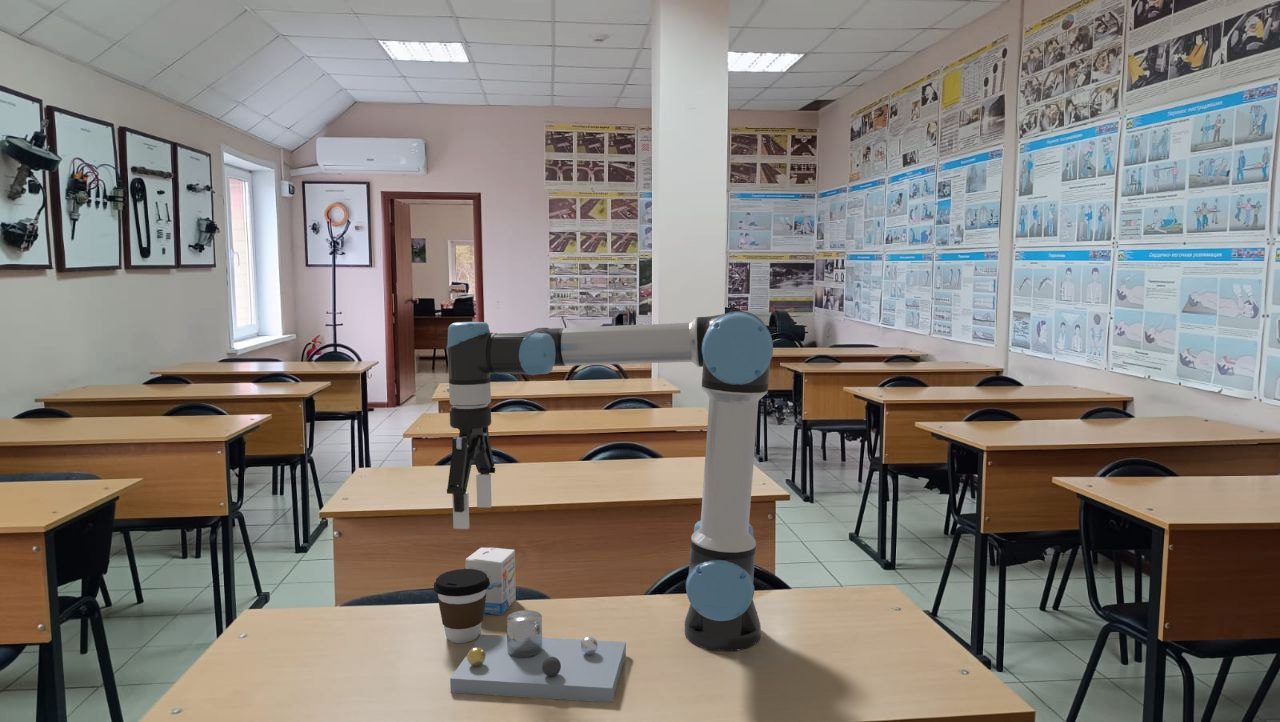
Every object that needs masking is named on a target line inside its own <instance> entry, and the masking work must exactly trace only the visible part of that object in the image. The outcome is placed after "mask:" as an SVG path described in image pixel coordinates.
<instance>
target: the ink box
mask: <svg viewBox="0 0 1280 722" xmlns="http://www.w3.org/2000/svg"><path fill="white" fill-rule="evenodd" d="M464 561H465V562H464V563H465V569H476V570H480V571H483V572H484V573H486V574H487V577H488V578H489V580H490V585H489V587H488V588H487V589H486V601H485V608H484V614H485V613H492V614H491V615H496V614H503V613H504V614H505V612H506V611H508V609H509V608H510V607H511V606H510V604H511V603H512V604H514V603H515V601H516V600H517V599H516V596H517V594H516V550H515V549H512V548H511V549H509V548H501V547H479V549H477V550H476V551H474V552H473V553H472V554H470V555H469V556H468V557H466V558H465V560H464ZM512 604H511V605H512ZM509 606H510V607H509ZM508 607H509V608H508ZM507 608H508V609H507ZM504 614H503V615H504Z"/></svg>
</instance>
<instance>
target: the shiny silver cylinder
mask: <svg viewBox="0 0 1280 722" xmlns="http://www.w3.org/2000/svg"><path fill="white" fill-rule="evenodd" d="M506 636H507V652H508V653H509V654H510V655H512V656H516V657H529V656H533V655H536V654H538V653H539V652H541V650H542V638H543V616H542V614H541V613H540V612H539V611H535V610H529V609H525V610H524V609H522V610H517V611H514V612H511V613H509V614H508V615H507V616H506Z"/></svg>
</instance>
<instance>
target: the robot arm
mask: <svg viewBox="0 0 1280 722" xmlns="http://www.w3.org/2000/svg"><path fill="white" fill-rule="evenodd" d="M489 327H490V326H489V324H488V323H487V322H484V321H462V322H461V321H460V322H459V321H456V322H453V323H451V324H450V325H449V326H448V327H447V345H446V350H447V362H448V363H447V365H448V367H447V368H448V387H447V388H446V392H447V393H449V404H450V405H451V407H450V408H449V425H450V427H451V428H452V429H457V430H459V434H458V436H456V437H453V438H452V439H451V441H452V442H451V443H452V445H451V448H452V450H451V457H450V464H449V465H450V466H449V474H448V481H447V482H448V483H447V488H446V494H449V495H452V519H453V520H452V523H453V525H452V526H453V528H452V529H453V530H454V529H456V530H469V529H470V501H469V495H470V494H469V492H467V489H468V486H469V485H468V484H469V480H470V474H471V469H472V465H473V461H474V464H475V467H476V471H477V473H476V474H475V476H476V478H475V481H476V484H475V485H476V508H492V504H493V503H492V475H491V474H495V473H496V467H495V461H494V457H493V450H492V447H491V446H492V444H491V441H490V435H489V427H490V425H492V407H491V406H490V405H489V404H491V403H492V398H491V397H492V393H491V391H492V390H491V374H493V375H497V374H503V375H504V374H505V375H506V374H507V375H511V374H512V375H530V376H535V375H546V374H549V373H551V372H552V371H553V369H554V367H565V366H566V367H567V366H569V367H570V366H588V365H589V366H592V365H593V366H594V365H595V366H597V365H598V366H599V365H627V364H628V365H629V364H662V363H664V364H665V363H666V364H667V363H669V364H670V363H693V364H694V365H695V366H696V367H698V368H700V367H702V373H701V375H702V377H701V388H702V389H701V390H703V391H704V392H705V394H706V395H708V398H709V399H708V411H707V412H708V414H707V425H706V428H707V429H706V441H705V454H704V455H705V457H704V470H703V473H704V474H703V486H702V500H701V514H700V520H698V521H697V522H696V523H695V524H694V528H693V533H692V534H691V538H690V550H689V551H690V553H689V564H688V565H689V567H688V575H687V578H686V580H685V591H686V595H687V599H688V601H689V603H690V604H689V607H688V610H687V613H686V616H685V619H684V636H685V637H686V639H687V640H688V641H689V642H691V643H692V644H695V645H696V646H699V647H701V648H704V649H709V650H713V651H714V650H715V651H723V652H724V651H725V652H726V651H737V650H739V651H740V650H743V649H748V648H750V647H752V646H754V645H755V644H757V643H758V642H759V641H760V640H761V637H762V636H761V634H762V632H761V629H762V628H761V627H762V626H761V621H760V618H759V615H758V611H757V608H756V604H755V602H754V596H755V585H754V576H755V575H754V574H755V564H756V563H755V562H756V561H755V560H756V547H757V541H756V539H755V536H754V528H753V526H752V525H751V523H750V512H751V504H752V503H751V502H752V501H751V500H752V488H753V476H754V475H753V474H754V465H755V464H754V462H755V451H756V450H755V449H756V436H757V426H758V425H757V423H758V422H757V421H758V411H759V401H760V400H761V399H762V398H763V397H764V396H765V395H767V394H768V390H769V380H770V369H771V360H772V359H773V353H774V342H773V337H772V335H771V332H770V330H769V329H768V327H767V326H766V324H765V322H764V321H763V320H762V319H761V318H760V317H758V316H756V315H755V314H753V313H751V312H748V311H743V310H735V311H729V312H727V313H722V314H717V315H716V314H715V315H711V316H710V315H709V316H697V317H696V316H695V318H693V320H692V321H691V322H675V323H653V324H652V323H651V324H650V323H649V324H648V323H647V324H628V325H625V324H624V325H605V326H604V325H603V326H581V327H579V326H578V327H577V326H576V327H564V328H563V327H562V328H560V327H557V328H553V327H552V328H549V327H539V328H538V327H537V328H535V329H531V330H527V331H522V332H507V333H503V332H502V333H501V332H500V333H498V332H491V331H490V328H489Z"/></svg>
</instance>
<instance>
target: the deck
mask: <svg viewBox="0 0 1280 722" xmlns="http://www.w3.org/2000/svg"><path fill="white" fill-rule="evenodd" d="M478 637H479V638H477V639H476V642H475V643H474V645H473V646H472V647H471V649H472V648H474V647H480V648H482V649H483V650H484V651H485V654H486V658H485V661H484V662H483V663H482V664H481V665H480V666H472V665H470V664H469V662H468V660H467V655H468V653H467V654H466V656H465V657H464V659H463V660H462V661H461V663H460V664H459V665H458V666H457V668H456V669H455V671H454V672H453V673H452V675H451V676H450V679H449V682H450V686H449V687H450V689H449V690H450V693H453V694H455V693H456V694H457V693H458V694H470V695H489V696H501V697H502V696H504V697H519V698H520V697H521V698H534V699H552V700H553V699H554V700H566V701H567V700H568V701H583V702H585V701H586V702H600V703H613V700H614V697H615V695H616V691H617V687H618V684H619V681H620V676H621V673H622V670H623V666H624V662H625V659H626V656H627V653H626V652H627V647H626V644H627V643H626V641H612V640H597V639H596V641H597V643H598V648H597V650H596V652H595V653H594V654H592V655H586V654H584V653H583V652H582V651H581V648H580V644H581V641H582V640H583V639H576V638H575V639H574V638H555V637H542V650H541V652H539V653H538V654H536V655H533V656H529V657H516V656H512V655H510V654H509V653H508V652H507V635H502V634H501V635H499V634H483V633H482V634H480V636H478ZM548 657H556V658H557V659H558V660H559V661H560V664H561V669H560V671H559V673H558V674H557V675H555V676H553V677H550V676H547V675H545V674H544V672H543V670H542V664H543V662H544V660H545V659H546V658H548Z"/></svg>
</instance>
